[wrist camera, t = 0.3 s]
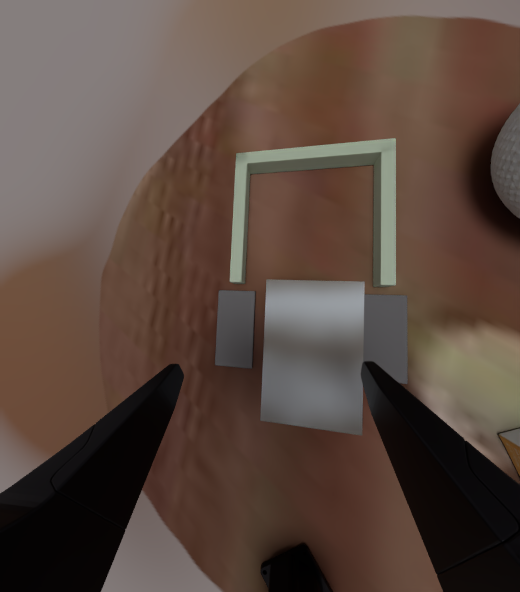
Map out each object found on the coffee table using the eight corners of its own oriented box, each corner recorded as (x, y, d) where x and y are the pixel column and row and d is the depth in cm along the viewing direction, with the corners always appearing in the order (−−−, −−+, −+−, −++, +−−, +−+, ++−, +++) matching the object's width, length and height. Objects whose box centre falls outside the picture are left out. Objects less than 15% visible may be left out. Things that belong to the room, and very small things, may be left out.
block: (336, 388, 23) (362, 435, 15) (270, 381, 24) (260, 420, 16) (338, 291, 24) (364, 281, 15) (274, 289, 25) (266, 279, 17)
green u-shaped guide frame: (405, 382, 22) (416, 389, 20) (216, 364, 25) (209, 368, 23) (404, 150, 23) (415, 136, 21) (226, 166, 27) (221, 154, 25)
